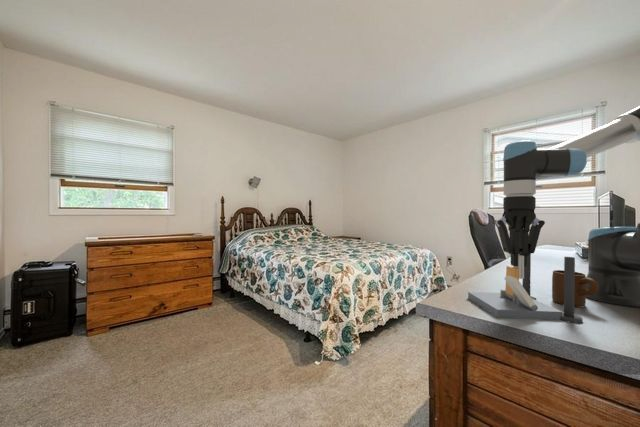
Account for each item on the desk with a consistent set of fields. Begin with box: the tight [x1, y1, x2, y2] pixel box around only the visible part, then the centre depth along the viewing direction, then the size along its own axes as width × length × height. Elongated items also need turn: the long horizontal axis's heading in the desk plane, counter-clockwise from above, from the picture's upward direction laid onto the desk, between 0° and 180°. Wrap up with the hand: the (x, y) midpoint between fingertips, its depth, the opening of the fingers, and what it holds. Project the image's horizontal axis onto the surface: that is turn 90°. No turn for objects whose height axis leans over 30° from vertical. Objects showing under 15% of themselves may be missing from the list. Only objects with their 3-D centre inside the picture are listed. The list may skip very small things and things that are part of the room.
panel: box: [467, 289, 563, 321], centre depth 78 cm, size 16×16×4 cm
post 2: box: [559, 256, 583, 324], centre depth 70 cm, size 5×5×16 cm
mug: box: [551, 269, 599, 308], centre depth 80 cm, size 12×8×9 cm, turn 3°
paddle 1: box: [505, 265, 520, 300], centre depth 79 cm, size 2×4×9 cm, turn 176°
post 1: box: [521, 253, 537, 301], centre depth 86 cm, size 5×5×16 cm
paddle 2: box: [503, 275, 538, 311], centre depth 71 cm, size 2×4×9 cm
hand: (518, 277), depth 78 cm, fingers closed
